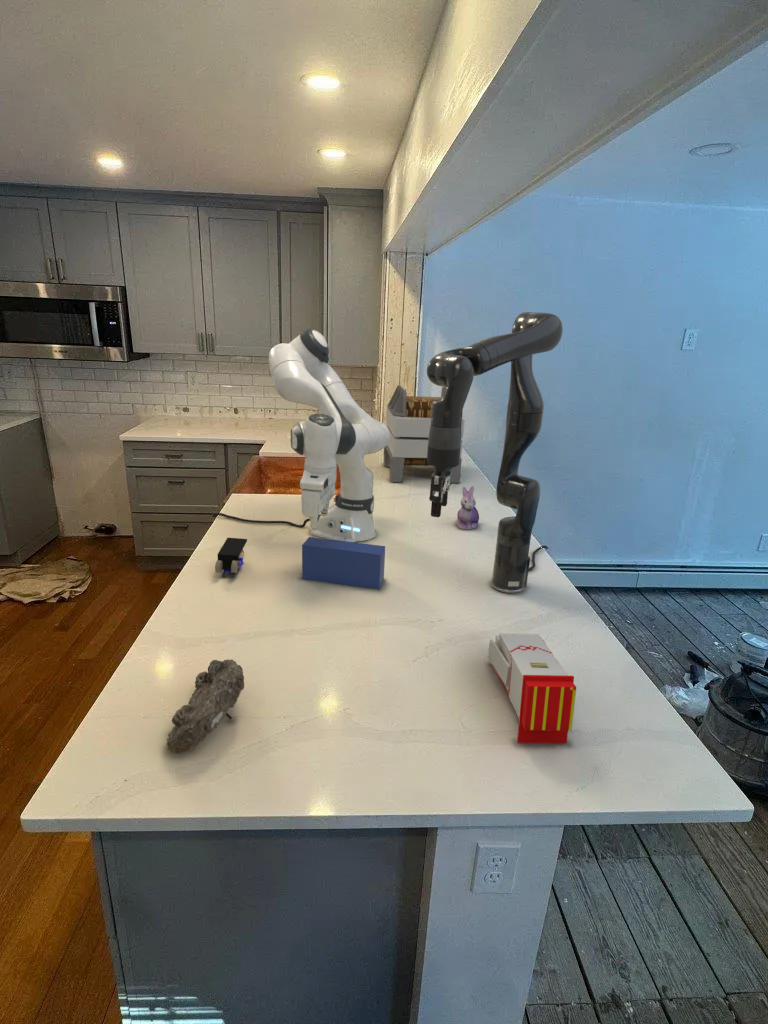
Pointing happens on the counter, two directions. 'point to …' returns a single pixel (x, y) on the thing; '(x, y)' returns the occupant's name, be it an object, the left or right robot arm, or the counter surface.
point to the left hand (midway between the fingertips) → (319, 521)
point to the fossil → (206, 705)
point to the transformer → (411, 433)
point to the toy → (534, 687)
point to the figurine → (468, 510)
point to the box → (343, 562)
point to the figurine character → (230, 556)
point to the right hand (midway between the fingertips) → (438, 510)
